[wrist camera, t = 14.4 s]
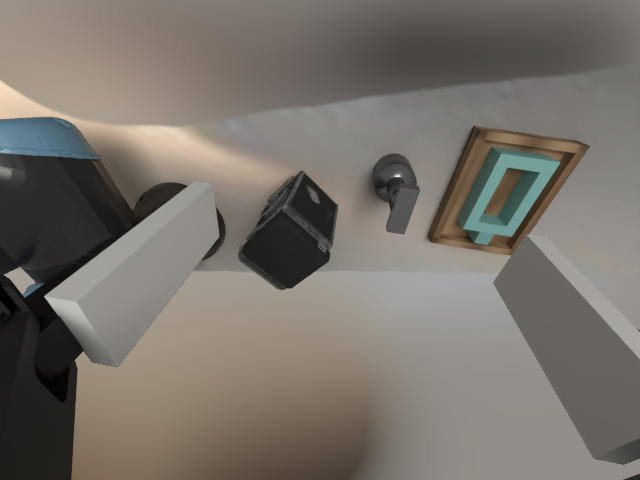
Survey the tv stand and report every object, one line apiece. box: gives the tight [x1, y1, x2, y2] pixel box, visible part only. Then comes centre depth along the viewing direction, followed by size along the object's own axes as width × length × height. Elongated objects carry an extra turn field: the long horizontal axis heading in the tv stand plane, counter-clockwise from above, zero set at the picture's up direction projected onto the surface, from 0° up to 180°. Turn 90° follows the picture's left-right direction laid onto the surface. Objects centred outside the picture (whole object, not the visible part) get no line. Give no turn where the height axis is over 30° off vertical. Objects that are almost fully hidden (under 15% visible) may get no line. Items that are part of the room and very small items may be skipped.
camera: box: [238, 171, 338, 290], centre depth 38 cm, size 10×11×15 cm
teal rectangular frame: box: [457, 147, 560, 245], centre depth 37 cm, size 13×7×3 cm, turn 173°
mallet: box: [374, 154, 420, 234], centre depth 34 cm, size 5×6×12 cm
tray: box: [428, 126, 590, 255], centre depth 38 cm, size 13×17×2 cm
